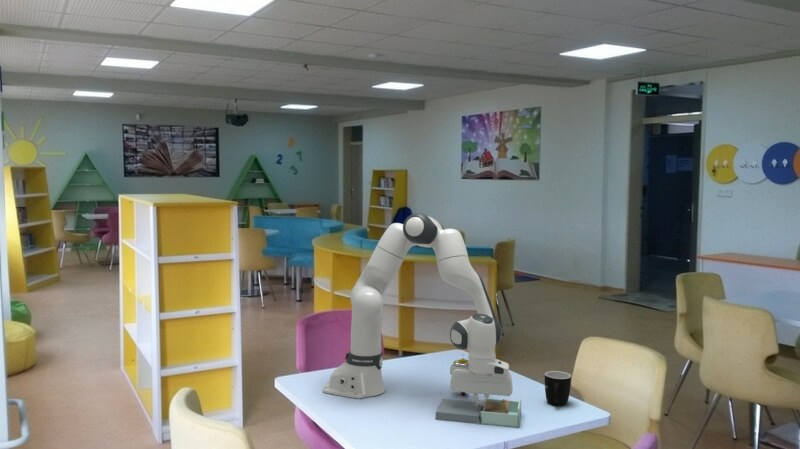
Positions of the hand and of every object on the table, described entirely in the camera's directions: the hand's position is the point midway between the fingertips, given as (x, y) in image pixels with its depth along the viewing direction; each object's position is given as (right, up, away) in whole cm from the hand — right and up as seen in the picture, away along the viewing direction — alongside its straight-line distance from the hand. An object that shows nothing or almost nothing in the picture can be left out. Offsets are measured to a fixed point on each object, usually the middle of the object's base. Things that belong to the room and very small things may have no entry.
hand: (480, 406), depth 212 cm
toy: (-4, -2, +21) cm, 22 cm away
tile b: (+4, -2, -1) cm, 4 cm away
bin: (+6, -4, -1) cm, 8 cm away
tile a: (+6, 0, -2) cm, 7 cm away
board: (-7, -3, +2) cm, 8 cm away
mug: (+28, -3, +12) cm, 31 cm away
